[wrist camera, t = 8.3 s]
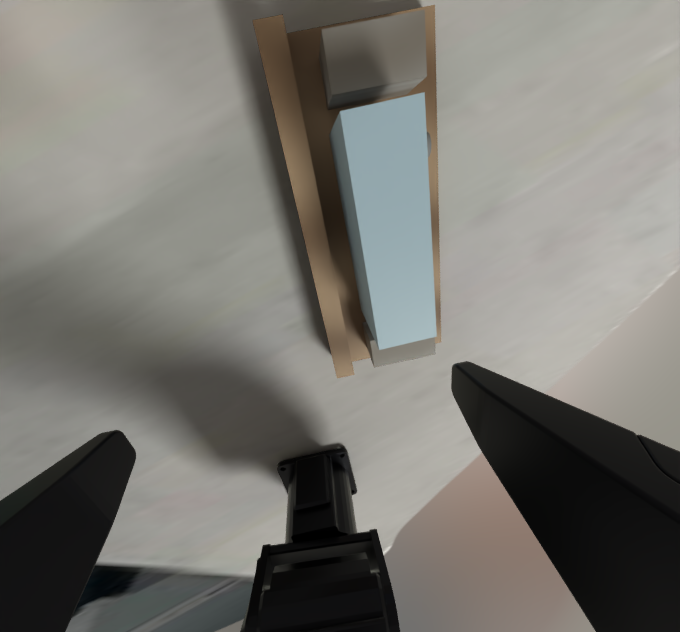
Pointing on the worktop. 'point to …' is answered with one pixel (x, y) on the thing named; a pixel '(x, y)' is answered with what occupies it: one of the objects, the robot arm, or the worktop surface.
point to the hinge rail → (316, 154)
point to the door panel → (388, 215)
